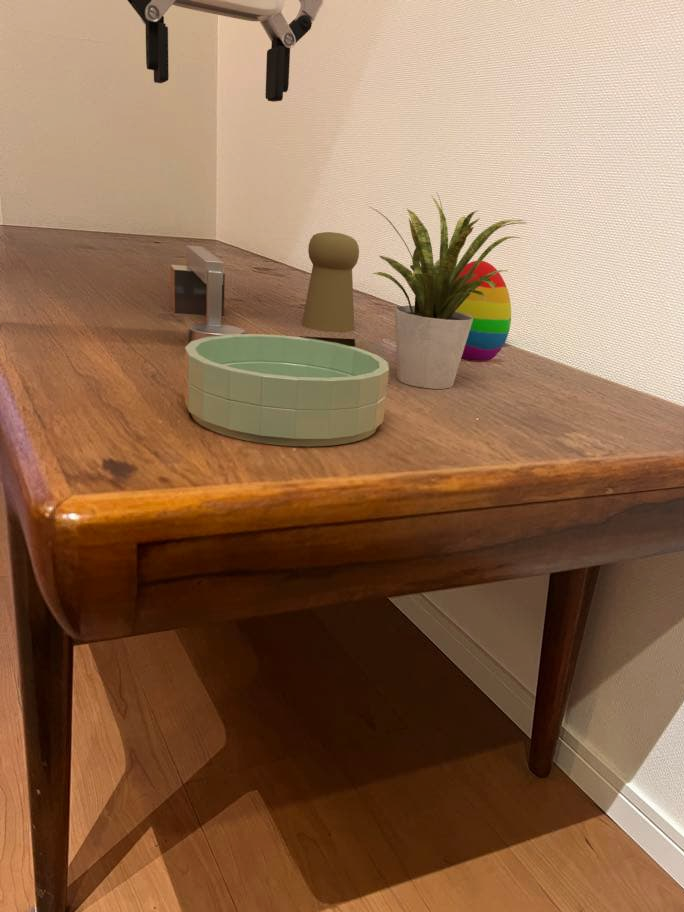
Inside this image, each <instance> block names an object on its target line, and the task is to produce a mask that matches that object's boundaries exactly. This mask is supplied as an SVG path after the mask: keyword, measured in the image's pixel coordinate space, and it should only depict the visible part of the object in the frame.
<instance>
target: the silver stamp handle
mask: <svg viewBox="0 0 684 912" xmlns="http://www.w3.org/2000/svg"><path fill="white" fill-rule="evenodd" d="M186 266H188V267H189V268H190V269H191V270H192V271H193V272H194V273H195V274H196V275H197V276H198V277H199V278H200V279H201V280H202V281H203V282H204V283H205V284H207V315H205V317H206V321H205V322H206V323H194V324H191V325H188V327H187V328H188V330H187V331H188V336H187V337H188V339H187V340H188V343H187V345H188V344H189V343H190V342H191V341H194V340H198V339H201V338H205V337H211V336H220V335H229V334H246V331H245V330H244V329H243V328H241V327H238V326H234V325H229V324H222V316H221V308H222V285H223V273H224V261H222V260H221V259H219V258H218V257H216V256H215V255H214V254H213V253H212V252H210V251H209V250H207V249H206V248H205V247H203V246H201V245H200V246H199V245H186Z"/></svg>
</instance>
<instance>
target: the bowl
mask: <svg viewBox="0 0 684 912" xmlns="http://www.w3.org/2000/svg"><path fill="white" fill-rule="evenodd" d="M389 373H390V367H389V362H388V361H387V360H385V359H384V358H383V357H381V356H379V355H378V354H375V353H373V352H370V351H367V350H365V349H362V348H359V347H356V346H353V347H351V346H347V345H343V344H339V343H335V342H329V341H323V340H317V339H310V338H302V337H299V336H293V335H292V336H291V335H282V334H264V333H263V334H262V333H245V334H229V335H220V336H211V337H205V338H201V339H198V340H194V341H191V342H190V343H189V344H188V343H187V344H186V345H185V347H184V404H185V406H186V408H187V411H188V413H189V414H190V416H191V417H192V419H193V420H194V421H195V422H196V423H197V424H198V425H200V426H202V427H204V428H205V429H207V430H210V431H212V432H214V433H217V434H220V435H223V436H226V437H230V438H234V439H237V440H241V441H248V442H251V443H257V444H264V445H273V446H284V447H330V446H340V445H344V444H345V445H346V444H351V443H356V442H358V441H362V440H364V439H367V438H369V437H370V436H372V435H374V434H375V433H376V432H377V431H378V428H379V427H380V426H381V425H382V424H383V423H384V420H385V419H384V418H385V410H386V400H387V392H388V384H389V383H388V382H389Z"/></svg>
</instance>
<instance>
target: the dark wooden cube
mask: <svg viewBox="0 0 684 912" xmlns="http://www.w3.org/2000/svg"><path fill="white" fill-rule="evenodd" d="M169 266H170V269H169V270H170V272H169V274H170V277H169V278H170V308H171V309H172V311H173V313H174V314H181V315H198V316H206V315H207V284H205V283H204V282H203V281H202V280H201V279H200V278H199V277H198V276H197V275H196V274H195V273H194V272H193V271H192V270H191V269H190V268H189V267H188V266H187V265H181V264H180V265H179V264H170V265H169ZM225 280H226V274H225V272H223V285H222V308H221V317H224V316H225V289H226V288H225V287H226V286H225V285H226V283H225V282H226V281H225Z"/></svg>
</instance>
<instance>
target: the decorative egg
mask: <svg viewBox="0 0 684 912" xmlns="http://www.w3.org/2000/svg"><path fill="white" fill-rule="evenodd" d="M476 261H477V260H474V261H471V262H470V261H469V262H468V263H467V265H466V266H465V268H464V269H463V270H462V272H461V273H460V275H459V276H458V278H457V280H458V279H459V278H460V277H462V276H463V275H465V274H467V273H468V272H469V270H470V269H471V268H472V267H473V265H474V264H475V263H476ZM494 271H498V269H497V268H496V267H495V266H494V265H493V264H491V263H489V262H487V261H485V260H482V261H481V262H480V263H479V265H478V266H477V267H476V269H475V270H474V271H473V273H472V274H474V275H477V276H485V275H487V274H489V273H491V272H494ZM480 279H481V278H480V277H473V278H471V279H469V280H468V281H467V282H466V283H468V282H470V281H473V280H480ZM489 279H490V281H492V282H494V283H495V287H494V291H493V288H492V287H490V285H489V284H488V283H487V282H483V283H482V284H481V285H479V286H478V287H477V288H476V289H475V291H480V292H482V293H483V295H484V297H485V299H486V300H485V299H484V297H482V296H480V295H478V294H474V293H471V294H470V295H469V296H468V297H467V298H466V299H465V300H464V302H463V303H462V304H461V305H460V306H459V307H458V308H457V309H456V311H457V312H461V313H464V314H467V315H470V316H472V317H473V321H472V325H471V328H470V331H469V334H468V338H467V341H466V344H465V347H464V351H463V354H462V357H461V360H465V361H473V362H487V361H491V360H492V359H494V358H495V357H496V356H497V355H498V354H499V352H501V350H502V348H503V347H504V345H505V343H506V342H507V339H508V336H509V334H510V329H511V324H512V323H511V322H512V304H511V297H510V293H509V290H508V286H507V284H506V282H505V280H504V278H503V276H502V275H501V272H498V273H496V274H494V275H493V276H491V277H490V278H489ZM457 280H456V281H457ZM456 281H455V282H456ZM466 283H465V284H466ZM468 290H469V289H468ZM468 290H467V291H468Z"/></svg>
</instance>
